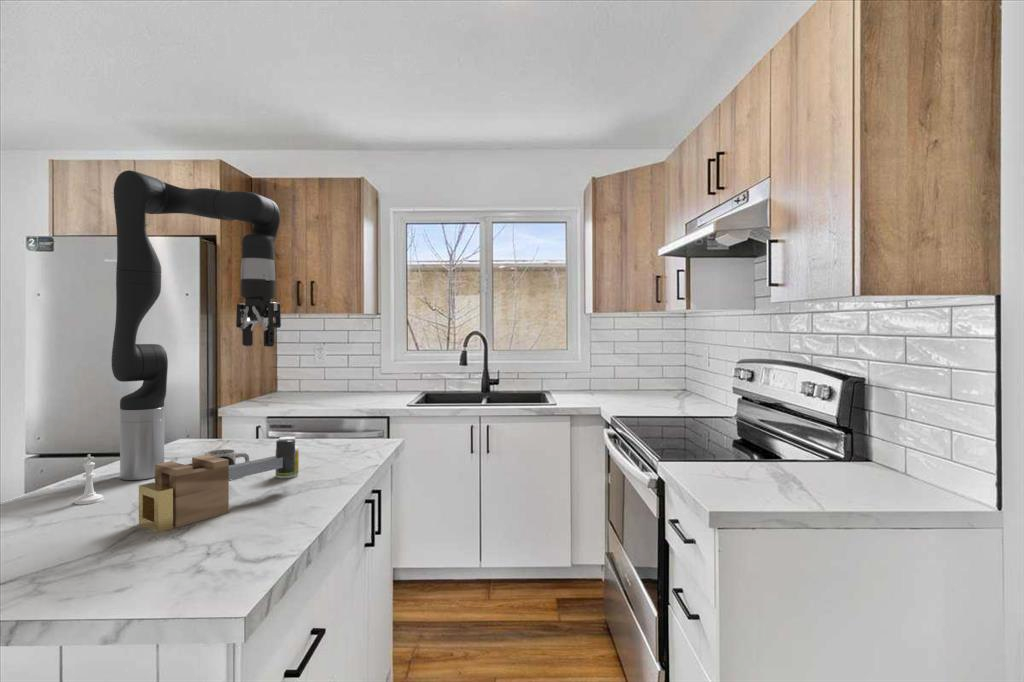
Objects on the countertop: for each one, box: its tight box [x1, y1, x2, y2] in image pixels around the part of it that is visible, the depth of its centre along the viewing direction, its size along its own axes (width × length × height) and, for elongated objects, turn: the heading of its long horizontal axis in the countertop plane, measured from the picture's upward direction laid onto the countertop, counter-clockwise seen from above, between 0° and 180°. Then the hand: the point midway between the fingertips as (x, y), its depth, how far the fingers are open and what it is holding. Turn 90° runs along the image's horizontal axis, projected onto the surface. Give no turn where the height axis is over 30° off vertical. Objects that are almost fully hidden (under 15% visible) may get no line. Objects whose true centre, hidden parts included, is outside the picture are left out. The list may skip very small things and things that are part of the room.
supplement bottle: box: [275, 436, 300, 479], centre depth 138 cm, size 5×5×10 cm
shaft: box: [229, 439, 296, 481], centre depth 116 cm, size 4×25×7 cm, turn 148°
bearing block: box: [154, 454, 230, 528], centre depth 107 cm, size 8×10×11 cm
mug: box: [204, 448, 250, 481], centre depth 136 cm, size 10×7×7 cm
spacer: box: [138, 481, 174, 533], centre depth 102 cm, size 7×2×7 cm, turn 58°
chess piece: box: [74, 453, 105, 506], centre depth 116 cm, size 5×5×10 cm
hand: (258, 346), depth 130 cm, fingers open, 8 cm apart
